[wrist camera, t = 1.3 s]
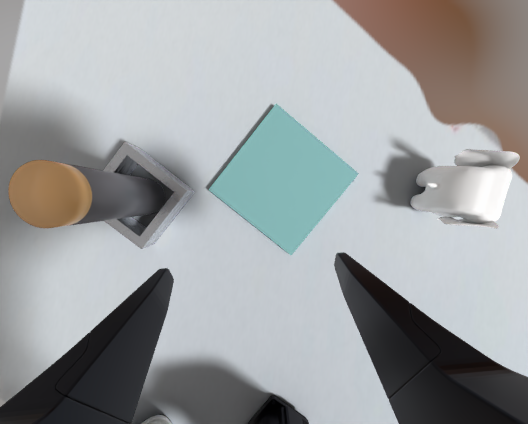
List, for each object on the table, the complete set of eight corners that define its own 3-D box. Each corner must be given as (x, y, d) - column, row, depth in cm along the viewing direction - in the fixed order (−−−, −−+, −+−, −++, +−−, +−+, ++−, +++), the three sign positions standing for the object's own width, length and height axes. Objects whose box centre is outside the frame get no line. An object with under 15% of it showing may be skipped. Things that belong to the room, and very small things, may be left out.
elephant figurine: (461, 230, 24) (546, 244, 17) (390, 215, 24) (446, 222, 17) (478, 172, 24) (573, 161, 16) (406, 155, 23) (470, 136, 16)
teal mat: (290, 254, 24) (291, 255, 23) (209, 190, 23) (208, 189, 22) (356, 174, 23) (358, 173, 23) (275, 106, 22) (276, 103, 22)
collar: (154, 243, 23) (141, 249, 21) (99, 201, 23) (79, 202, 20) (195, 191, 23) (187, 190, 20) (139, 147, 22) (124, 141, 20)
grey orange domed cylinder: (151, 221, 23) (52, 241, 12) (122, 199, 23) (-6, 199, 12) (172, 194, 23) (91, 189, 12) (143, 171, 23) (34, 145, 12)
